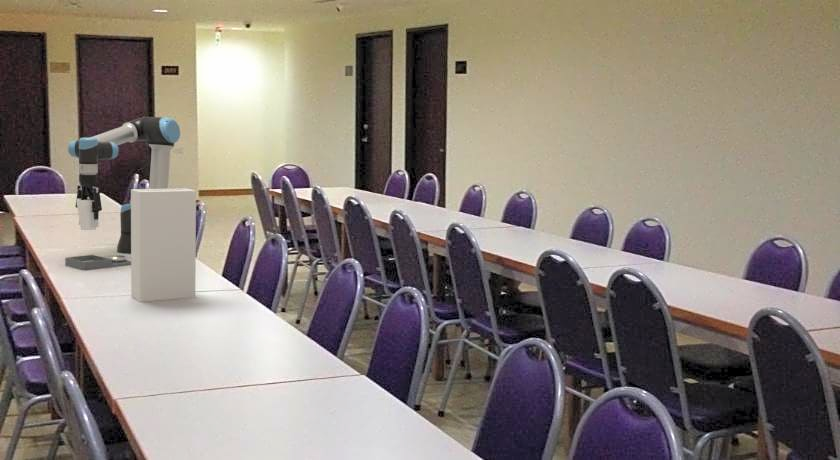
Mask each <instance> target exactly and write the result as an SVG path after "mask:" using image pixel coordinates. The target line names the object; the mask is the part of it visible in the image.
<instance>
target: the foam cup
mask: <svg viewBox="0 0 840 460" xmlns="http://www.w3.org/2000/svg"><path fill="white" fill-rule="evenodd" d="M76 199H77V198H76ZM92 202H94V200H90V199H89V198H87V200H81V198H80V199H77V207H78V208H77V212H78V214H77V215H78V222H79V221H80V225H79V226H80V227H79V228H80V230H81V231H96V230H97V227H92V212H91V211H93V209H92Z"/></svg>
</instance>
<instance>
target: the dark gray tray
mask: <svg viewBox="0 0 840 460" xmlns="http://www.w3.org/2000/svg"><path fill="white" fill-rule="evenodd" d="M64 263H65V267H69V268H73V269H77V270H82V271H88V270H89V271H90V270H91V271H92V270H99V269H106V268H115V267H123V266H125V267H126V266H131V260H128V259H125V261H122V262H112V259H109V258H105V256H100V255H95V254H90V255H89V254H88V255H78V256H71V257H70V256H69V257H65V258H64Z"/></svg>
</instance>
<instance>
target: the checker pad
mask: <svg viewBox="0 0 840 460" xmlns="http://www.w3.org/2000/svg"><path fill="white" fill-rule="evenodd" d="M104 257H105V258H109V259H112V262H122V261H125V260H126V256H125V255H118V254H117V255H115V254H114V255H113V254H111V255H110V254H109V255H105V256H104Z"/></svg>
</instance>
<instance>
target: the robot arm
mask: <svg viewBox="0 0 840 460" xmlns="http://www.w3.org/2000/svg"><path fill="white" fill-rule="evenodd" d="M180 136H181V128H180V125H179V124H178V122H177V121H176V120H175V119H173V118H170V117H164V116H163V117H159V116H142V117H138V118H136V119H132V120H129V121H126V122H124V123H123V124H122V125H121V126H120V127H119V126H118V127H117V128H116V127H115V128H113V129H110V130H108V131H104V132H102V133H100V134H97V135H94V136H90V137H80V138H79V139H77V140H71V141H70V143H69V144H68V145H67V152H68V154H69V155H70V156H71V157H73V158H77V159H78V161H79V162H78V164H79V165H78V169H79V170H78V173H79V176H78V183H80V184H81V185H77V189H76V190H77V192H76V193H77V194H76V198H75V199H76V200H75V201H76V202H75V208H77V209H78V207H77V199H80V198H81V200H87V198H89V199H90V200H94V202H92V209H93V211H91V212H92V227H96V228H98V227H99V214H100V213H99V212H100V211H103V208H102V201H101V194H100V193H101V191H100V190H101V189H100V187H96V184H97V183H98V182H99V179H98V178H99V176H98V173H99V171H98V169H99V167H98V166H99V165H98V164H99V163H98V160H113V159H116V158H117V157H118V155H119V151H120V150H119V147H118V146H120V145H122V144H125V143H135V142H148V146H149V147H150V148H151V151H150V152H151V153H150V154H151V155H150V167H149V168H150V171H149V184H148V185H149V186H148V189H169V176H170V163H171V150H172V149H173V148H175V144H176V143H177V142H178V141H179V139H180ZM119 215H120V238H119V240H118V243H117V245H116V251H117V252H118V253H123V254H124V253H125V254H131V203H126V204H122V205H121V207H120V214H119ZM78 225H79V226H80V221H79V220H78Z"/></svg>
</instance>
